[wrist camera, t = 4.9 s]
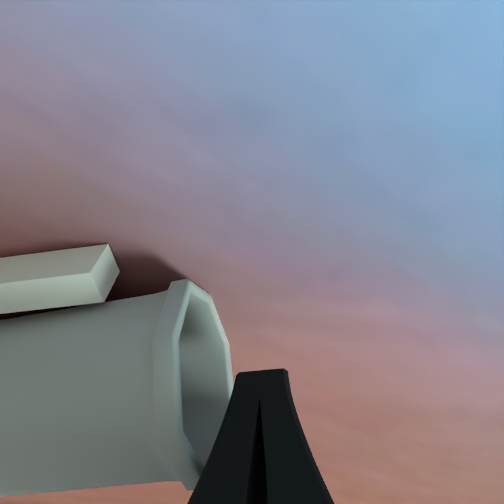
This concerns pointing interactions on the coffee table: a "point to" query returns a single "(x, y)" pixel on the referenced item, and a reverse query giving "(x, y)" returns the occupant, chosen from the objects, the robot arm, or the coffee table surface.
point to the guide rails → (56, 278)
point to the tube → (112, 392)
